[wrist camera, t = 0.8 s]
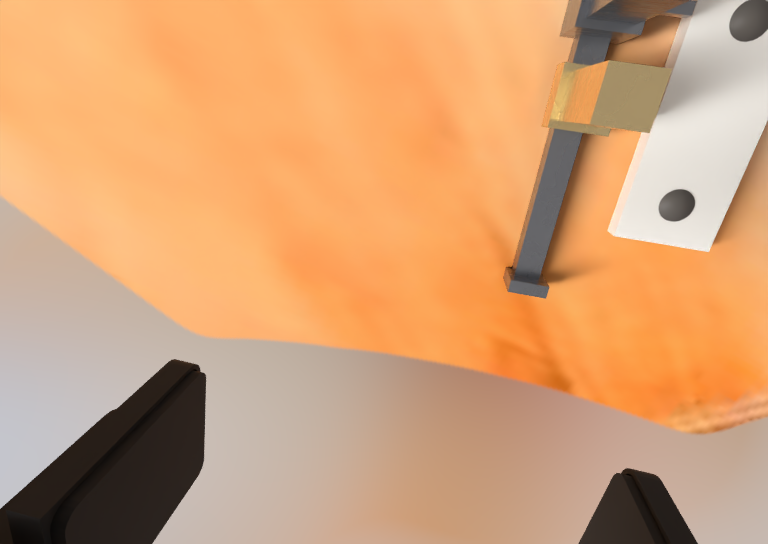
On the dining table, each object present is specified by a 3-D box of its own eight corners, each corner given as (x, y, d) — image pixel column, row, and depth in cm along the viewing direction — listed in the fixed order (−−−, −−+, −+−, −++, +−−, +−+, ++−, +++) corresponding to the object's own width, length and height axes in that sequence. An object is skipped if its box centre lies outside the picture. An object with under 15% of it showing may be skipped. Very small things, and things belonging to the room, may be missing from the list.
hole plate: (699, -36, 28) (713, -44, 26) (814, -22, 27) (835, -29, 26) (607, 230, 34) (614, 236, 33) (697, 246, 34) (709, 252, 32)
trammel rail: (577, -32, 29) (647, -107, 19) (685, -19, 28) (818, -89, 18) (497, 276, 37) (516, 339, 27) (579, 291, 36) (630, 360, 26)
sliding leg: (557, 64, 29) (602, 47, 21) (663, 79, 29) (752, 67, 20) (541, 126, 31) (576, 132, 22) (642, 141, 30) (716, 154, 22)
